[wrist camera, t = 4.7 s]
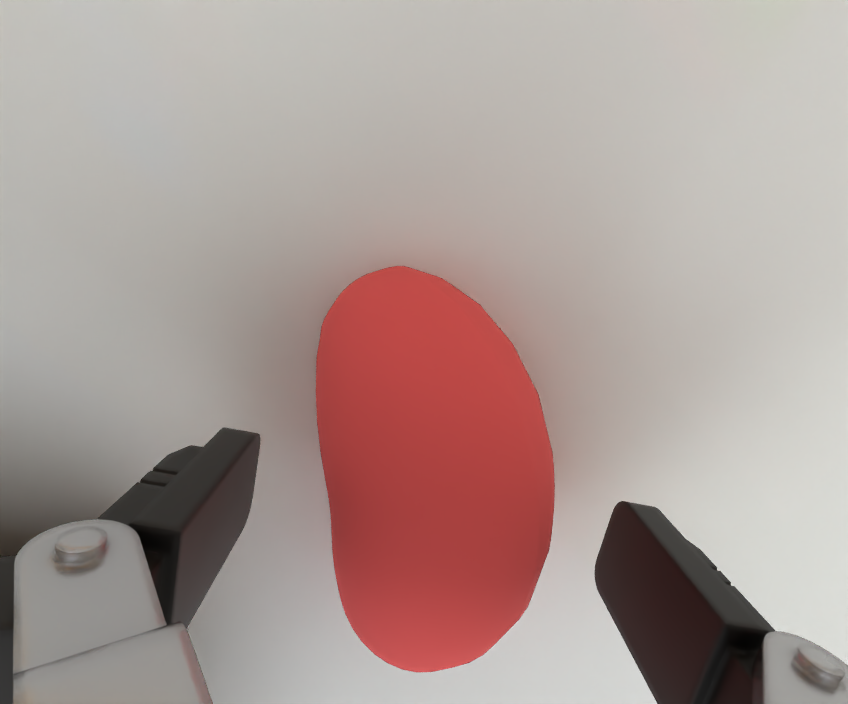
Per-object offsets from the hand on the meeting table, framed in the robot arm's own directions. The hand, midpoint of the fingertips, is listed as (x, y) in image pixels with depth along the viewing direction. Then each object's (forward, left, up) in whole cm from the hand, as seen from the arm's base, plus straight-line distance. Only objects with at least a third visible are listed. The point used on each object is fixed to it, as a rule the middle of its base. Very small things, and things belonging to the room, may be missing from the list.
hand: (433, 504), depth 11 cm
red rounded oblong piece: (0, 0, -3) cm, 3 cm away
